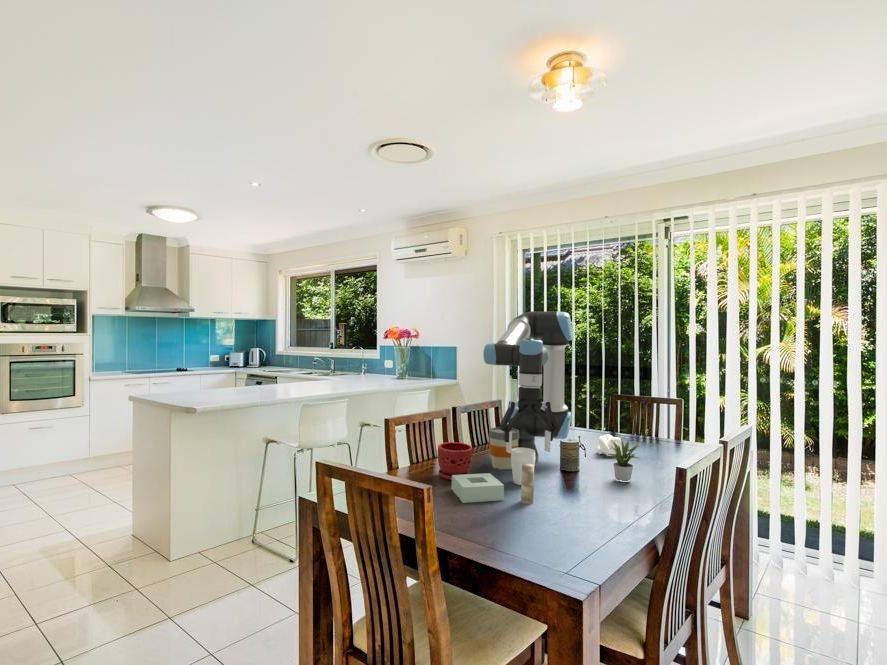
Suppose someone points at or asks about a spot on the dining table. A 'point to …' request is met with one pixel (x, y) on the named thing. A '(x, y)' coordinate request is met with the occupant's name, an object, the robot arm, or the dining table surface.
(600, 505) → the dining table surface
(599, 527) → the dining table surface
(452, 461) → the plant pot
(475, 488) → the socket block
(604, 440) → the crumpled white lump
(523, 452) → the cup
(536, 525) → the dining table surface
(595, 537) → the dining table surface
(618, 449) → the house plant
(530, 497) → the peg
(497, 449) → the reusable coffee cup
